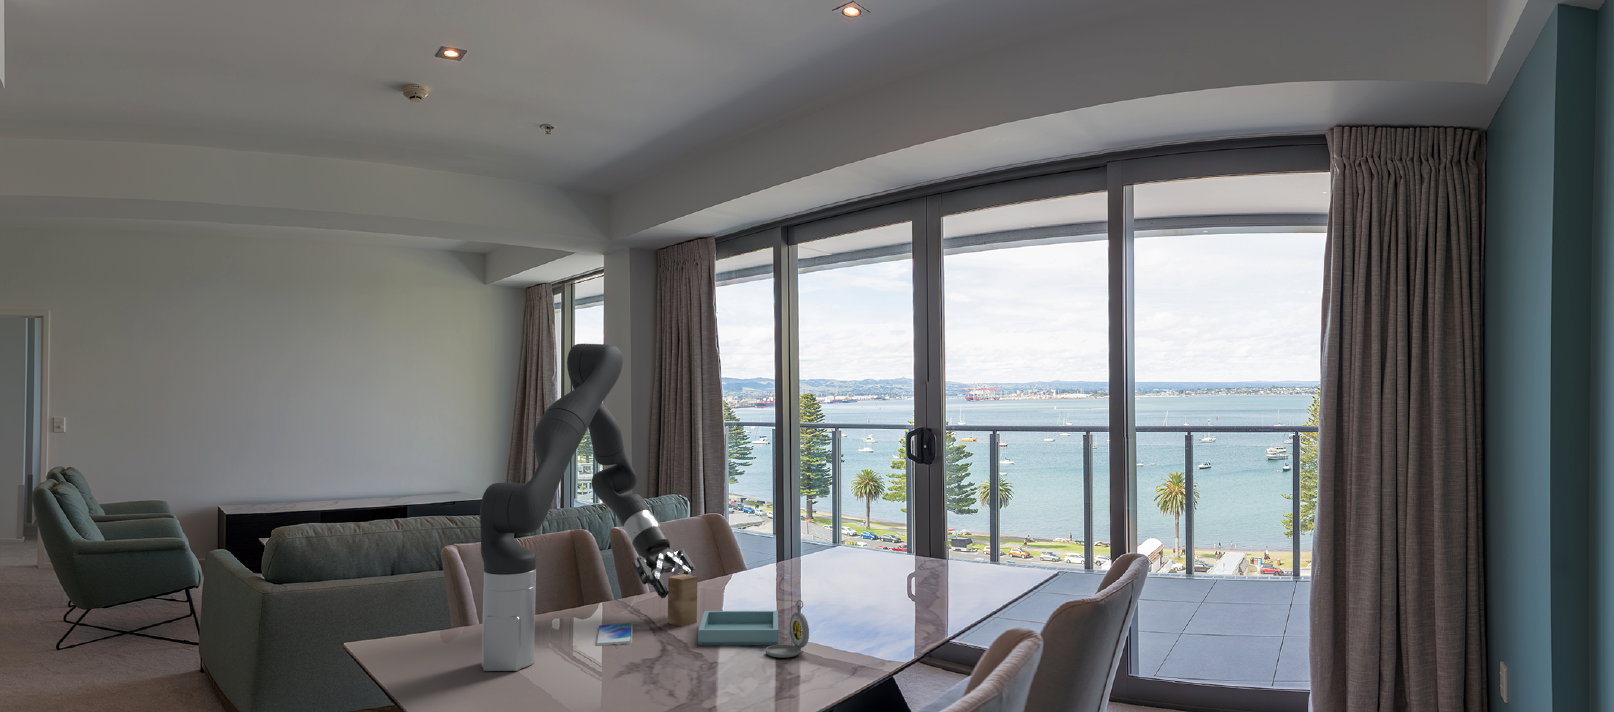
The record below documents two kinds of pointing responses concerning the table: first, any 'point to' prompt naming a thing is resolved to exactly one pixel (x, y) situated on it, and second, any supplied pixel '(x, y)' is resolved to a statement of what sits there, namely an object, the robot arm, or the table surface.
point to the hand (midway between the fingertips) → (680, 592)
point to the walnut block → (682, 599)
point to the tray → (738, 628)
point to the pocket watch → (793, 637)
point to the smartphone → (614, 634)
